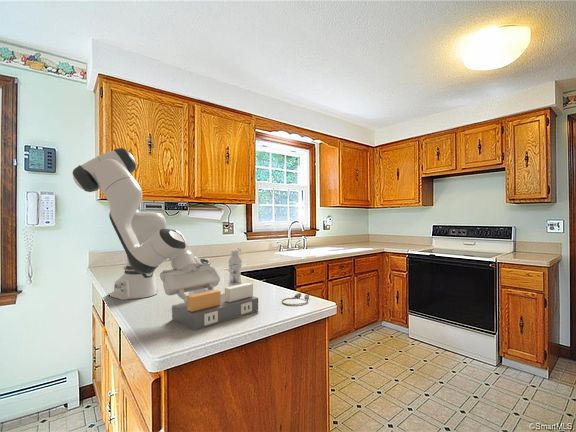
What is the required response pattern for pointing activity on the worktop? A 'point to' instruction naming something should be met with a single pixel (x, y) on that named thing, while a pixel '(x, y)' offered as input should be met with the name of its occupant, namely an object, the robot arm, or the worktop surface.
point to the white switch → (238, 292)
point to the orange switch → (203, 300)
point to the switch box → (213, 312)
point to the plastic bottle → (235, 269)
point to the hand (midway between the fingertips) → (200, 299)
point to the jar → (198, 291)
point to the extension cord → (297, 298)
